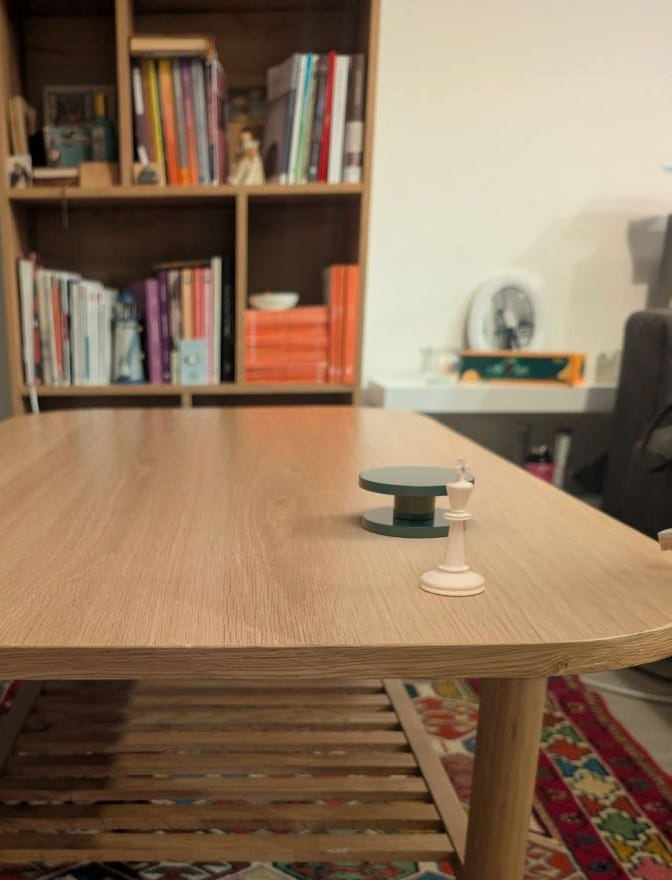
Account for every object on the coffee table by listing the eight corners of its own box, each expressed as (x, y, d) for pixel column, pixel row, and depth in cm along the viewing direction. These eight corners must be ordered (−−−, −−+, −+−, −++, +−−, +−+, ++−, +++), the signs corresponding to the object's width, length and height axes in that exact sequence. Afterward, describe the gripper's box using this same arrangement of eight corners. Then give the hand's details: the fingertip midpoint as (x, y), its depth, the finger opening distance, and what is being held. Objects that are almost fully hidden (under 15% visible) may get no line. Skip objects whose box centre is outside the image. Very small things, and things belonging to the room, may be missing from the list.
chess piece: (406, 586, 74) (414, 458, 71) (444, 574, 77) (453, 451, 74) (459, 600, 70) (470, 465, 67) (497, 587, 73) (509, 458, 70)
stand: (465, 515, 98) (468, 466, 96) (476, 540, 87) (481, 486, 86) (357, 513, 100) (359, 465, 98) (356, 537, 89) (358, 485, 88)
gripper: (814, 411, 62) (622, 449, 74) (861, 706, 65) (668, 697, 77) (857, 396, 65) (666, 435, 77) (900, 678, 68) (710, 674, 80)
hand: (668, 568), depth 77 cm, fingers open, 3 cm apart
